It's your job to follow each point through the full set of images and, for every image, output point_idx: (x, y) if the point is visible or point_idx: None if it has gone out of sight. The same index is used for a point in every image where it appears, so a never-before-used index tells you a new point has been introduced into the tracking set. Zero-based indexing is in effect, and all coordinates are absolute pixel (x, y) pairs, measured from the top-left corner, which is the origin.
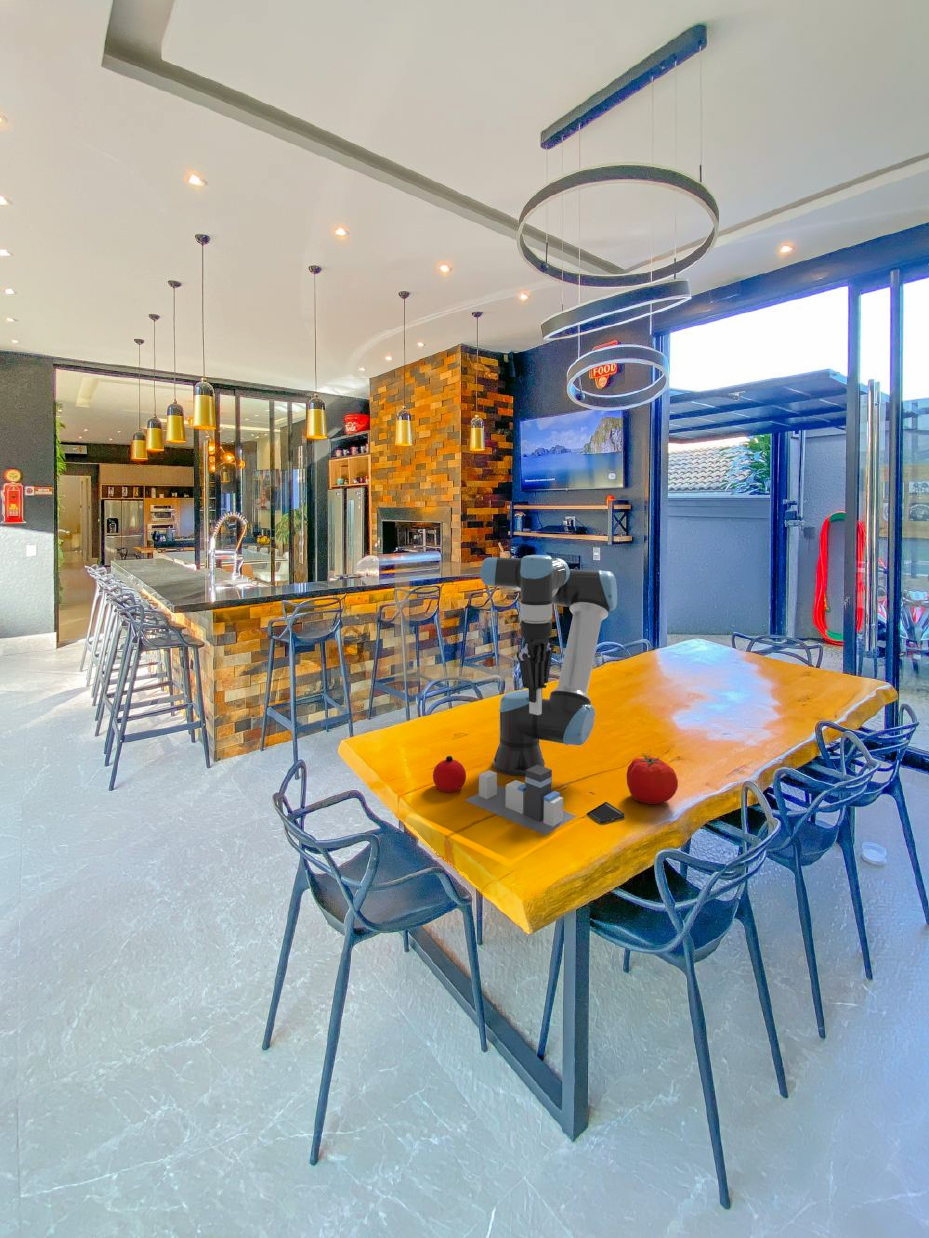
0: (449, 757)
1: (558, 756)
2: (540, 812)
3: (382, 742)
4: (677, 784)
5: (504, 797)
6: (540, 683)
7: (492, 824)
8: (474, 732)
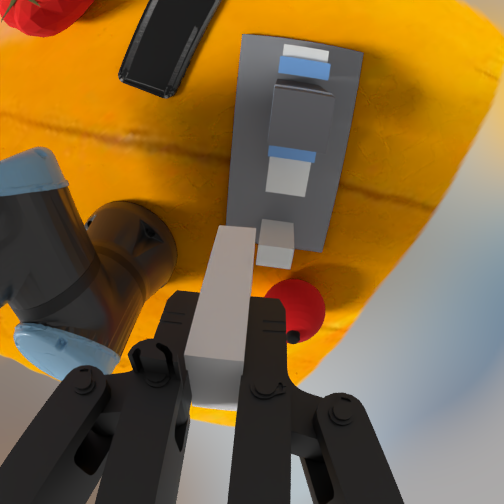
0: (296, 339)
1: None
2: (318, 86)
3: (216, 410)
4: None
5: (265, 199)
6: (176, 404)
7: (366, 165)
8: None
